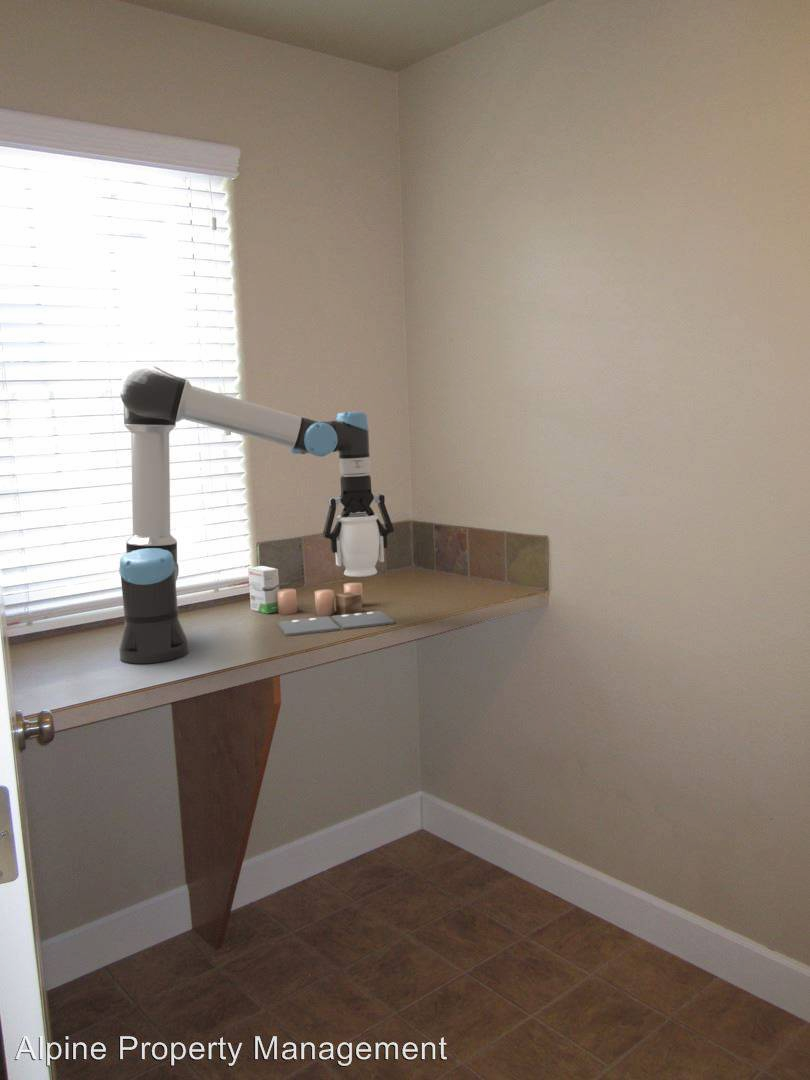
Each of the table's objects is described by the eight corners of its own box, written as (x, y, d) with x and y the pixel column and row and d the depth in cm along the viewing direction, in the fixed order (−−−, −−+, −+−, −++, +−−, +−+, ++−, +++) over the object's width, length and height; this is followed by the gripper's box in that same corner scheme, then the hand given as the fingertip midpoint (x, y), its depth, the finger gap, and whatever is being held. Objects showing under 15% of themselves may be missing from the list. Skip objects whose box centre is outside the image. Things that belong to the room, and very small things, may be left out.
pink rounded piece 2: (350, 608, 238) (349, 586, 237) (341, 605, 242) (340, 584, 241) (366, 605, 241) (365, 583, 240) (356, 603, 245) (355, 582, 244)
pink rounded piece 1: (317, 616, 231) (316, 594, 230) (314, 612, 236) (312, 590, 235) (336, 614, 232) (335, 592, 232) (332, 610, 237) (331, 588, 236)
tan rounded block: (279, 615, 234) (278, 593, 233) (277, 611, 239) (275, 589, 238) (298, 613, 236) (297, 591, 235) (295, 609, 240) (294, 587, 239)
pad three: (343, 629, 216) (343, 626, 216) (332, 618, 229) (331, 615, 228) (394, 623, 220) (394, 620, 220) (380, 612, 232) (380, 609, 232)
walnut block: (345, 616, 231) (344, 597, 230) (336, 613, 235) (335, 594, 234) (362, 613, 233) (361, 594, 232) (352, 610, 237) (351, 591, 237)
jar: (375, 578, 216) (372, 517, 214) (335, 578, 218) (331, 518, 216) (385, 570, 227) (382, 511, 224) (346, 570, 229) (343, 512, 226)
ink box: (282, 611, 239) (279, 568, 237) (266, 614, 236) (263, 571, 234) (265, 606, 246) (262, 564, 244) (249, 609, 242) (247, 567, 241)
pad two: (286, 636, 212) (286, 632, 212) (277, 624, 225) (277, 621, 224) (339, 630, 216) (339, 626, 216) (328, 618, 228) (328, 615, 228)
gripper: (312, 479, 212) (318, 570, 215) (404, 472, 218) (408, 561, 222) (306, 477, 219) (312, 565, 222) (395, 471, 225) (399, 556, 229)
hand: (360, 563), depth 222 cm, fingers closed on jar, 10 cm apart
